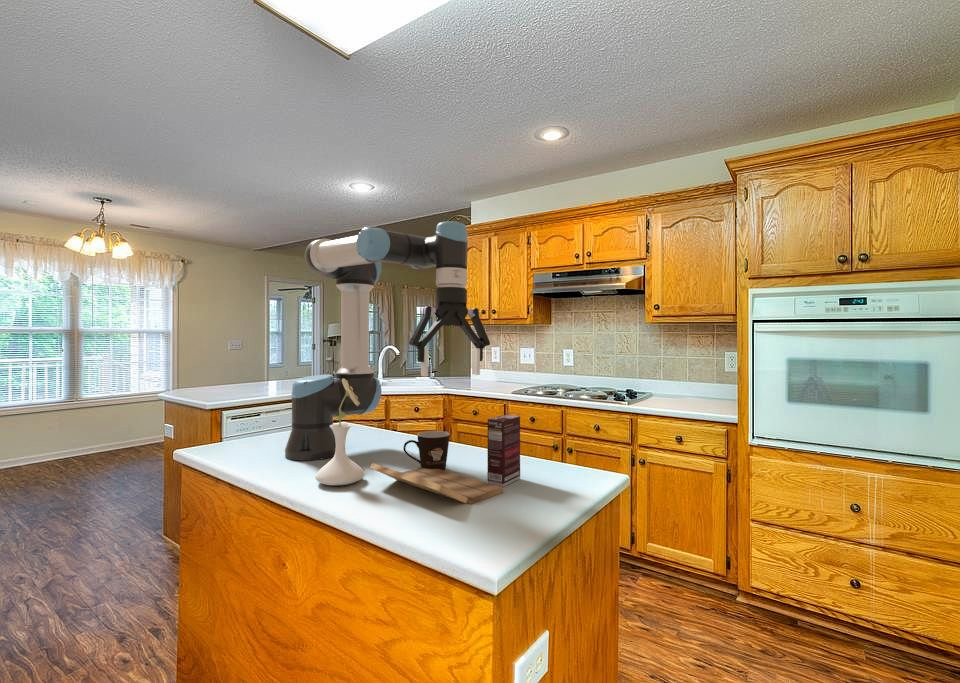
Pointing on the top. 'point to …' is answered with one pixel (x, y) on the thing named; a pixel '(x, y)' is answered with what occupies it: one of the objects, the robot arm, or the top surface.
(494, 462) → the supplement box
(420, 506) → the top surface
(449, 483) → the laid strip
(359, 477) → the flower in vase
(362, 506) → the top surface
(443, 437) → the coffee mug
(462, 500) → the plank
